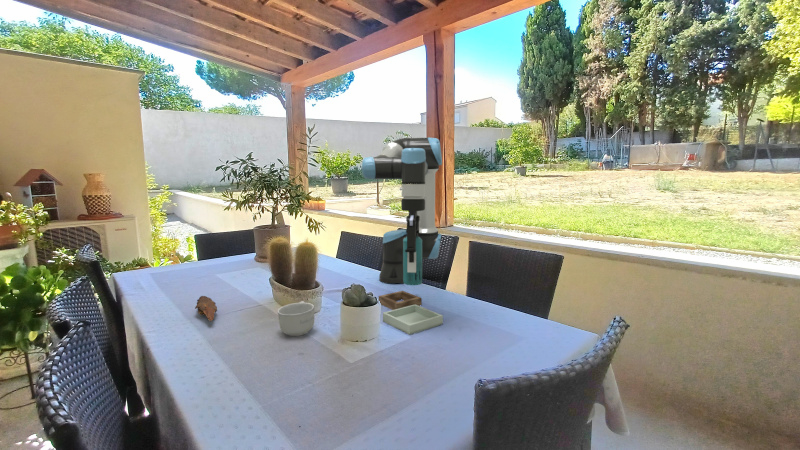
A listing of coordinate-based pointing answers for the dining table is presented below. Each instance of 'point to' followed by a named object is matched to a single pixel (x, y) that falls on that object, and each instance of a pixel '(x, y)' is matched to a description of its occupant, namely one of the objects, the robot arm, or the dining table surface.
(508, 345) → the dining table surface
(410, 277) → the beverage bottle
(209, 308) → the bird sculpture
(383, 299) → the socket block
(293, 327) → the teacup
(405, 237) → the robot arm
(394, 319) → the tray
